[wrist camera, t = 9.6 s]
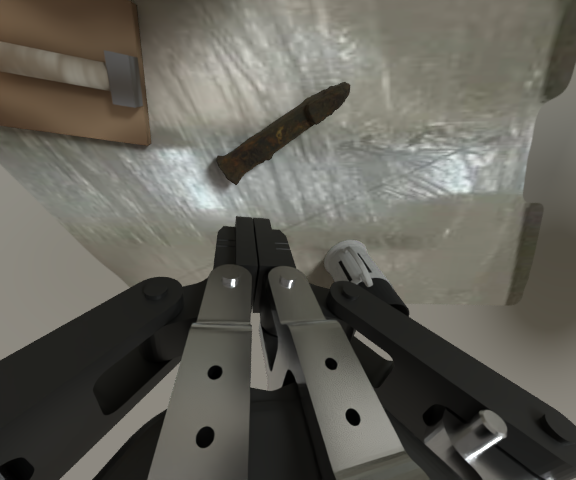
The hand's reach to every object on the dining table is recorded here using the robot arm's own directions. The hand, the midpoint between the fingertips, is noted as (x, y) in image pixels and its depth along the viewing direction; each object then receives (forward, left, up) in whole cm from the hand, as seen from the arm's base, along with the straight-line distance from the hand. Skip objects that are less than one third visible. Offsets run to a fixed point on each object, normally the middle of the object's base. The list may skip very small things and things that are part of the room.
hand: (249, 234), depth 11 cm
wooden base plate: (-4, -20, -25) cm, 32 cm away
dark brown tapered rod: (-2, +5, -26) cm, 26 cm away
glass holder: (+17, +20, -25) cm, 36 cm away
